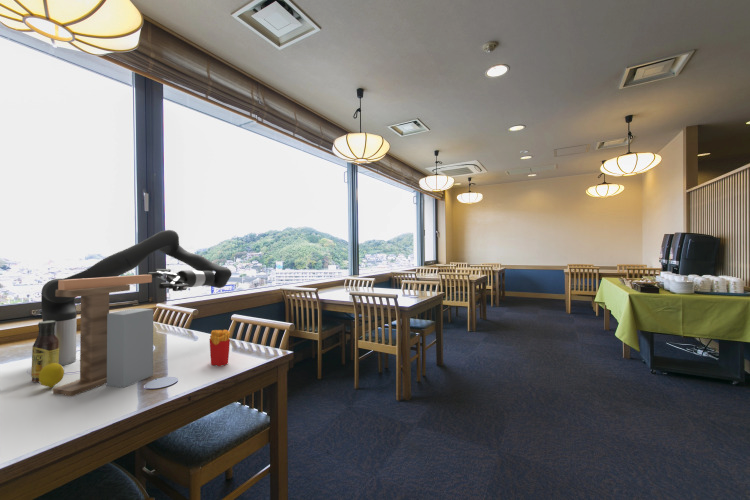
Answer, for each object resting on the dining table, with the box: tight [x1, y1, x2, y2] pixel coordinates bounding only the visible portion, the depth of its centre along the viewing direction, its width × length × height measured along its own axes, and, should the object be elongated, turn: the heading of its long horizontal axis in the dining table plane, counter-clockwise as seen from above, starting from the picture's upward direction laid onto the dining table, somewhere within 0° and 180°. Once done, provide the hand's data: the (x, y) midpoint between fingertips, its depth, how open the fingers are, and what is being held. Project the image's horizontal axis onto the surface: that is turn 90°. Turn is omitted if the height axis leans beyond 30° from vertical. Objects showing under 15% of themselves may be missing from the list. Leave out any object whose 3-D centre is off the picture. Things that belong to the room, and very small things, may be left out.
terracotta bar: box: [58, 274, 153, 290], centre depth 104 cm, size 3×26×3 cm, turn 161°
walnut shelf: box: [52, 284, 131, 397], centre depth 99 cm, size 8×17×32 cm, turn 167°
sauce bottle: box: [30, 320, 59, 383], centre depth 102 cm, size 7×6×20 cm
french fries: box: [209, 329, 231, 367], centre depth 117 cm, size 9×4×13 cm, turn 68°
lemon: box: [38, 362, 65, 388], centre depth 96 cm, size 6×6×8 cm
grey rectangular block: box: [106, 307, 154, 388], centre depth 102 cm, size 7×10×24 cm
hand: (153, 280), depth 118 cm, fingers open, 8 cm apart
